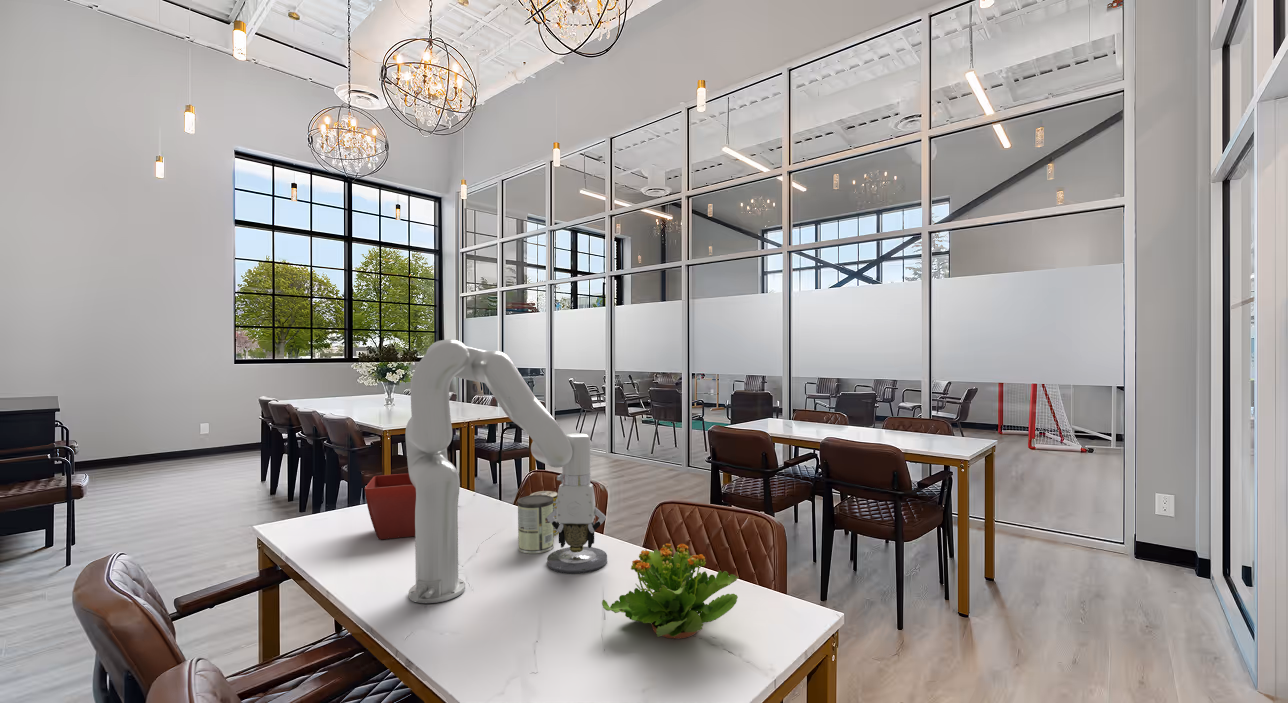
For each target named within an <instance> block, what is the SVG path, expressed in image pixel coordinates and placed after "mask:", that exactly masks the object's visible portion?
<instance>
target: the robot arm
mask: <svg viewBox="0 0 1288 703" xmlns="http://www.w3.org/2000/svg"><path fill="white" fill-rule="evenodd" d="M454 378H459V379H462V380H467V381H472V382H476V383H477V382H478V383H484V384H485V385H486V387H487V388H488V390H489V391H490V392H491V394H492V396H493V398H494V399H495V400H496V402H497V403H498V405H499V406H500V408H501V409H502V411H503V412H504V414H505V415H506V417H508V418H509V420H510V421H512V422H513V423H514V424H516V425H517V426H518V427H520V428H521V429H522V430H523V431H524V432H525V434H527V435H528V436H529V437H530V439H531V440H532V443H531V445H530V452H531V455H532V456H533V458H534V459H535V460H536V461H538V462H541V463H542V464H545V465H547V466H550V467H551V468H556V469H559V468H561V471H562V472H561V474H559V475H556V481H559V482H561V484H560V485H559V487H558V490H557V492H558V497H557V508H556V509H555V510H554V511H553V512H551V513H550V514H549V515H548V516H547V519H548V520H549V522H550V523H551V524H552V525H553V527H554V528H555V529H556V530H557V532H559V533H558V544H560V549H563V548H565V545H566V541H565V537H564V530H563V524H588V529H589V533H588V541H587V547H589V548H591V547H592V545H594V544H595V531H596V530H597V529H598V528H599V527H600V526H601V525H602V524H603V523H604V522H605V521H606V519H607V516H606V515H605V514H604V513H603V512H602V511H601V510H600V509H598V507H597V506H596V495H595V490H594V489H595V488H594V484H593V483H591V438H590V436H589V434H586V433H583V432H581V433H580V432H576V433H575V432H573V433H572V432H571V433H566V434H565V433H564V431H563V429H562V428H561V426H560V425H559V423H558V422H557V420H556V419H555V418H554V417H553V416H552V415H551V414H550V412H549V411H548V410H547V409H546V407H545V406H544V405H543V404H542V403H541V402H540V401H539V399H537V397H536V396H535V395H534V393H533V391H532V390H531V388H530V386H529V385H528V384H527V382H526V380H525V379H524V378H523V376H522V374H521V373H520V372H519V370H518V368H517V367H516V364H515V363H514V362H513V360H512V359H511V358H510V356H509V355H507V354H506V353H504V352H503V351H501V350H500V351H499V350H485V349H478V348H474V347H472V346H466V345H465V343H463V342H462V341H460V340H457V339H451V338H450V339H442V340H441V339H440V340H437V341H435V342H434V343H432V344H431V345H430V346H429V347H428V348H427V350H426V353H425V354H424V356H423V357H422V358H421V359H420V360H419V362H418V363H417V365H416V366H415V369H414V371H413V373H412V377H411V380H410V412H411V417H410V418H409V419H408V420H407V421H408V422H407V423H406V427H405V434H404V435H405V446H406V447H405V448H406V458H407V460H406V461H407V468H408V469H407V470H408V473H409V477H410V480H411V482H412V484H413V486H414V487H415V488H416V506H415V536H414V539H415V541H414V542H415V543H414V544H415V545H414V546H415V548H414V549H415V553H414V554H415V555H414V556H415V561H414V562H415V584H414V585H412V586H411V587H410V588H409V590H408V598H409V600H411V601H412V602H415V603H419V604H436V603H437V604H438V603H442V602H446V601H449V600H453V599H454V598H457V597H458V596H460V595H461V594H463V593H464V592H465V590H466V582H465V580H463V579H461V578H459V496H460V487H461V485H460V484H461V481H460V476H459V472H458V469H457V468H456V466H455V465H454V464H453V463H452V462H451V461H450V460H449V458H448V447H449V445H450V444H451V442H452V440H453V426H452V417H451V408H450V386H451V383H452V381H453V379H454ZM555 515H556V519H557V520H555V518H554V516H555ZM596 516H597V518H598V520H597V521H596V522H595V523H594V521H595V518H596Z"/></svg>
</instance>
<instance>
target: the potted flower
mask: <svg viewBox="0 0 1288 703" xmlns="http://www.w3.org/2000/svg"><path fill="white" fill-rule="evenodd" d="M673 551H674V549H673V548H672V544H670V543H665V544H663V545H662V547H660V549H659V550H658V549H654V550H653V551H651V550H644V549H641V551H640V553H639V554H638V558H639V559H634V560H632V561H631V563H632V565H631V566H630V570H632V571H635V573H636V574H637V579H638V582H639V584H640V586H639V584H637V583H635V585H636V587H635V588H634V590H633V591H631V590H628V592H627V593H626V594H621V595H620V596H619V597H618V600H615V601H614V602H612V603H611V605H610V606H609V604H608V601H606V599H603V600H602V602H601V604H602V608H603V609H604V610H605V611H606V612H609V611H610V612H613V613H615V614H617V613H623V614H624V613H625V614H624V616H625V617H626V618H629V620H631V621H632V622H634V621H635V622H641V623H643V624H651V627H652V630H653V633H655V635H656V637H664V638H666V639H673V640H675V639H684V638H686V639H687V638H689V637H692V636H694V635H695V634H697V633H698V632H699V631H701V630H703V626H704V624H705V623H711V622H713V621H716V620H718V619H720V618H721V617H722V616H724V615H725V614H726V613H728V612H729V611H731V610H732V609H733V607H734V606H735V605H736V603H737V602H738V595H737V594H735V593H731V594H730V593H726V594H722V595H720V596H717V597H716V598H715V599H712V600H711V601H710V602H709V603H705V601H707V600H708V599H709V598H710V597H712V596H713V595H714V594H717V593H718V592H719V591H721V590H722V589H725V588H727V587H728V586H731V584H733V583H734V582H736V581H737V579H739V575H738V576H736V575H735V574H733V573H731V574H729V572H728V571H726V570H724V571H723V572H722V570H718V572H717V574H716V575H715V574H710V575H709V576H708V573H707V571H706V570H704V571H703V572H701V571H700V569H701V568H702V567H705V566H706V564H707V562H706V557H705V556H704V554H696V555H695V554H692V555H690V551H689V545H687V544H685V543H680V544H678V545H677V548H676V552H674V554H673ZM695 569H697V572H696V570H695ZM695 573H696V575H695V576H694V574H695ZM693 576H694V577H693ZM642 583H643V584H642ZM643 585H644V586H645V588H644V587H643ZM703 623H704V624H703Z"/></svg>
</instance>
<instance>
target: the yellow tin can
mask: <svg viewBox="0 0 1288 703" xmlns="http://www.w3.org/2000/svg"><path fill="white" fill-rule="evenodd" d="M531 495H547V496H551V497H553V511H554V510H555V509H556V508H557V497H558V491H554V490H542V491H541V490H540V491H536V492H532V493H530V495H529V496H531ZM554 518H555V520H557V519H556V515H555V516H554ZM557 535H559V532H557V530H556V529H555V528H554V527H553V536H554V537H555V536H557Z"/></svg>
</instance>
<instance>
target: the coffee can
mask: <svg viewBox="0 0 1288 703" xmlns="http://www.w3.org/2000/svg"><path fill="white" fill-rule="evenodd" d="M551 512H553V497H551V496H547V495H531V496H530V495H527V496H523V497H520V498H518V499H517V528H518V530H517V531H518V532H517V533H518V538H517V539H518V547H517V550H518V551H519V552H520V553H523V554H529V555H531V554H543V553H547V552H549V551H551V550H553V549H554V546H555V543H554V537H555V536H553V525H552V524H551V523H550V522H549V520H548V519H547V516H548V515H549V514H550V513H551Z"/></svg>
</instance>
